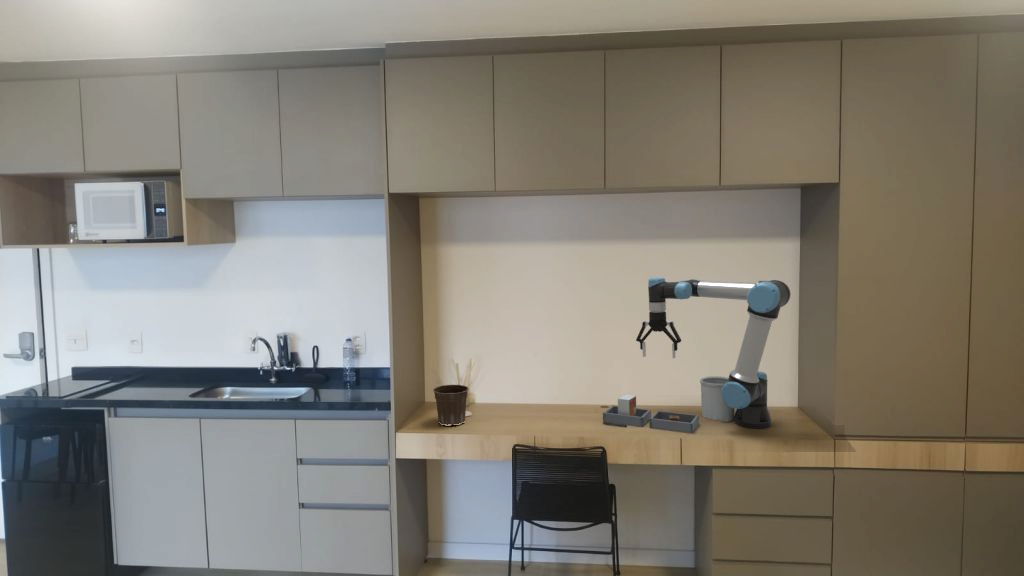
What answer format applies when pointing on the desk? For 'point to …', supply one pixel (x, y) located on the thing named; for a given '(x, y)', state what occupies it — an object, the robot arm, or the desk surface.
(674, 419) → the walnut block
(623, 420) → the bin
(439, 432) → the desk surface
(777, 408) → the desk surface
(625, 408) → the small box
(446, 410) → the plant pot
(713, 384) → the utensil holder
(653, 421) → the bin
